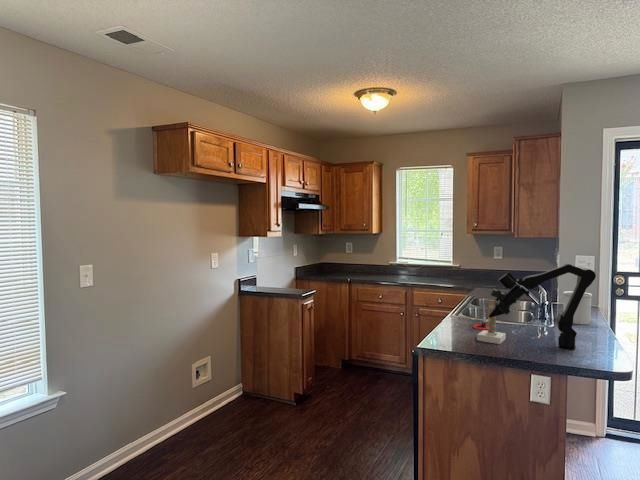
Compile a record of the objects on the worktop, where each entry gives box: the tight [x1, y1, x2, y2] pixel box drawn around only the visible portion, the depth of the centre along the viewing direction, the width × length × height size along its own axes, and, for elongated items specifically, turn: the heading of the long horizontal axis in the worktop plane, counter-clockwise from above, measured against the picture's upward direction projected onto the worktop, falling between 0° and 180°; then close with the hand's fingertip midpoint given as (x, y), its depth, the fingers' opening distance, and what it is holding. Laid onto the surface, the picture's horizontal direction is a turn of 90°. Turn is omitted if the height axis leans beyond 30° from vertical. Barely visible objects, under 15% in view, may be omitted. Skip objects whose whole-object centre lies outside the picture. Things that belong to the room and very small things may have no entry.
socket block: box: [476, 330, 507, 345], centre depth 220 cm, size 11×11×3 cm
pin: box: [487, 299, 497, 333], centre depth 218 cm, size 4×4×16 cm
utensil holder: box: [562, 290, 593, 325], centre depth 259 cm, size 15×15×18 cm
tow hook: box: [472, 304, 488, 331], centre depth 244 cm, size 8×13×9 cm
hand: (489, 316), depth 218 cm, fingers closed on pin, 4 cm apart
